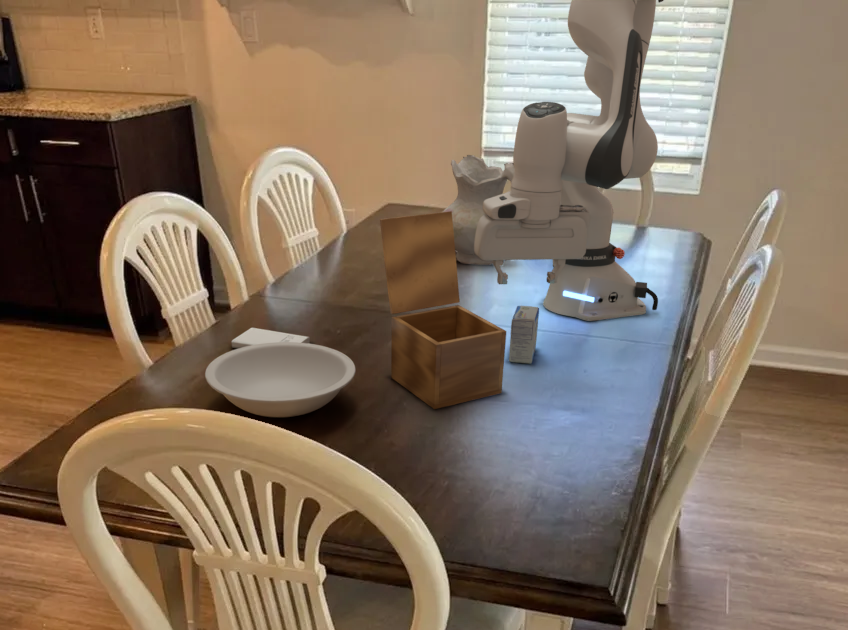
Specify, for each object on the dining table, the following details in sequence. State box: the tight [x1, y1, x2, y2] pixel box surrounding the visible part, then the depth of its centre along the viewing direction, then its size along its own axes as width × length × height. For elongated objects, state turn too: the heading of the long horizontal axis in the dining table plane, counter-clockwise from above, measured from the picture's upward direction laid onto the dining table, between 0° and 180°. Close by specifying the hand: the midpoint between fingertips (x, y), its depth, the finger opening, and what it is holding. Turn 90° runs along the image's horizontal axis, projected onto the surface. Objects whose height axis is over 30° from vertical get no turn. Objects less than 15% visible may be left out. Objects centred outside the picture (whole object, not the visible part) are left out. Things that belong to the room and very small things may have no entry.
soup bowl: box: [204, 342, 356, 418], centre depth 139 cm, size 24×24×7 cm
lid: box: [379, 211, 461, 315], centre depth 146 cm, size 16×14×1 cm
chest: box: [390, 304, 507, 410], centre depth 147 cm, size 15×14×11 cm
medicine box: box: [508, 305, 540, 365], centre depth 160 cm, size 8×4×9 cm, turn 168°
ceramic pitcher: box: [442, 154, 515, 266], centre depth 212 cm, size 22×20×25 cm
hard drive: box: [231, 327, 311, 349], centre depth 163 cm, size 2×8×12 cm
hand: (526, 283), depth 155 cm, fingers open, 8 cm apart
